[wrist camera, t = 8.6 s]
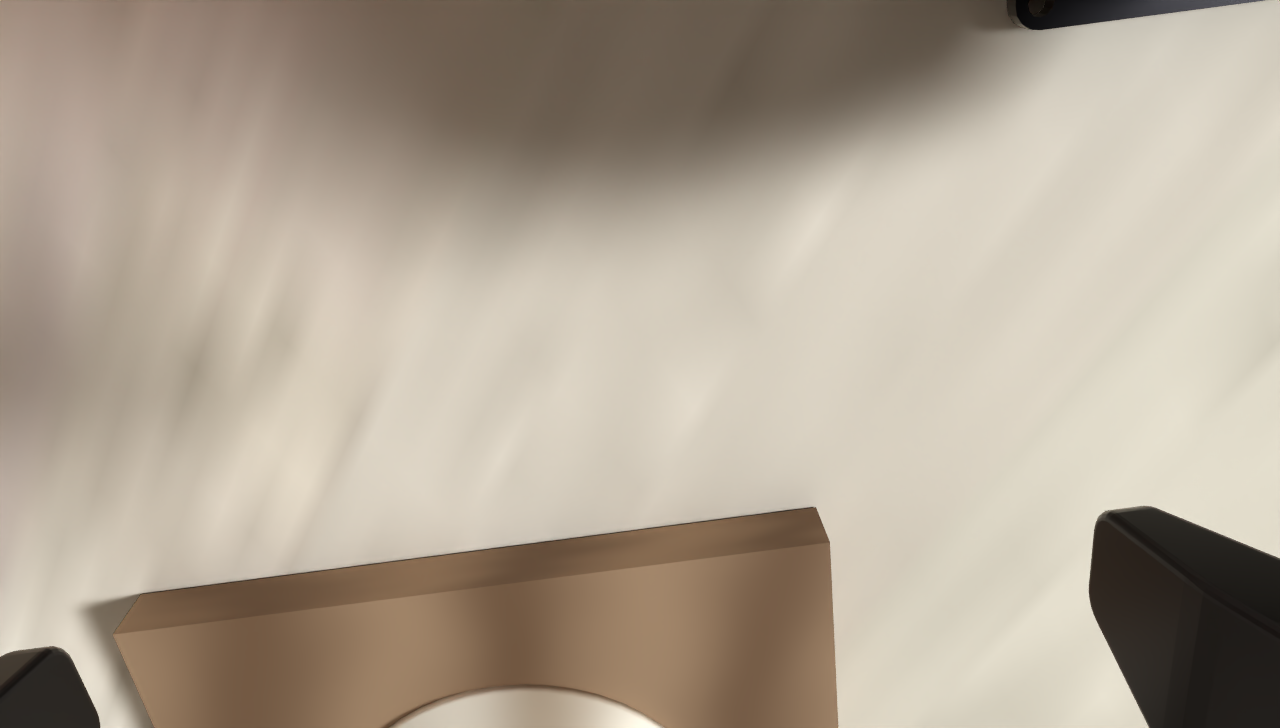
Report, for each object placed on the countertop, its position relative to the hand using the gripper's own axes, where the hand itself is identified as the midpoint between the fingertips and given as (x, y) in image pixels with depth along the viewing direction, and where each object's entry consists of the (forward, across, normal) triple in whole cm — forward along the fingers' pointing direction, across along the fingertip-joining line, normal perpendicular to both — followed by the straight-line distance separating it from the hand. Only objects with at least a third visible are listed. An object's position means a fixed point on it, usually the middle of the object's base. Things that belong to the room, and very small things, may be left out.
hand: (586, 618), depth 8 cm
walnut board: (+13, +4, +16) cm, 21 cm away
